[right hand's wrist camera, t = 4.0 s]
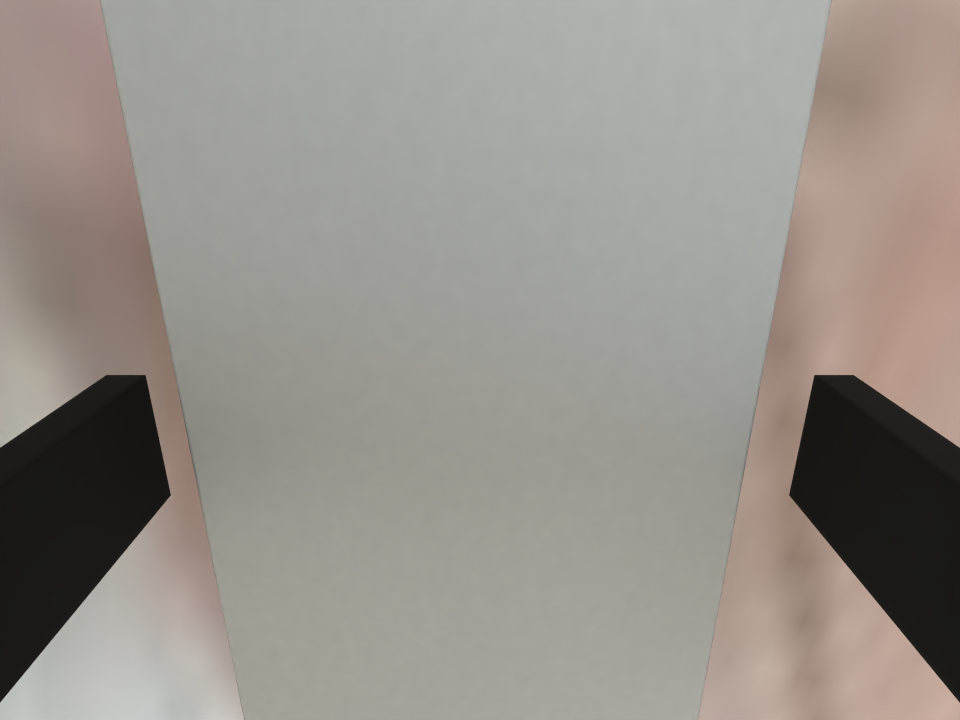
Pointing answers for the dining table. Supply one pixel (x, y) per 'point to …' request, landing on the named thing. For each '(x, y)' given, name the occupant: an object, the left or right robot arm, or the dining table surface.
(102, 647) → the dining table surface
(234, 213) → the slab
